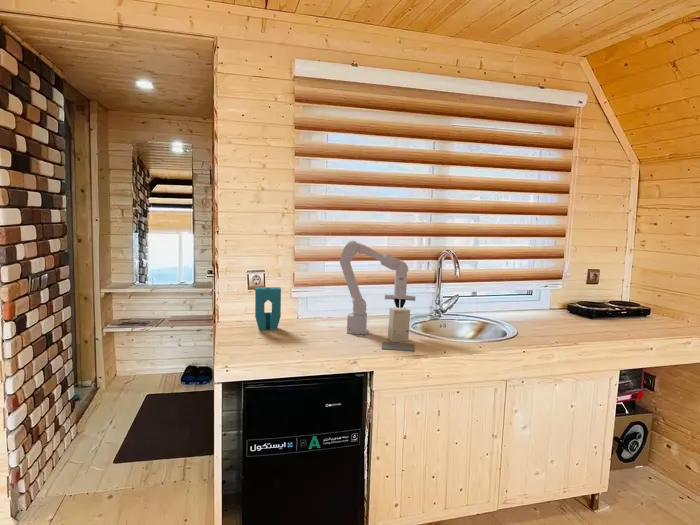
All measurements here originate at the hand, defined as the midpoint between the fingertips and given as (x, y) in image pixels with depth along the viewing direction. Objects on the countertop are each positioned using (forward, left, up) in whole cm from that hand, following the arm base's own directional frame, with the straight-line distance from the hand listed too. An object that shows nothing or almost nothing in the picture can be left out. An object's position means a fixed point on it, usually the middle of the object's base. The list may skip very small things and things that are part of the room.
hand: (399, 314), depth 220 cm
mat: (0, -20, -9) cm, 22 cm away
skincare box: (0, -10, -10) cm, 14 cm away
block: (-63, -5, -10) cm, 64 cm away
